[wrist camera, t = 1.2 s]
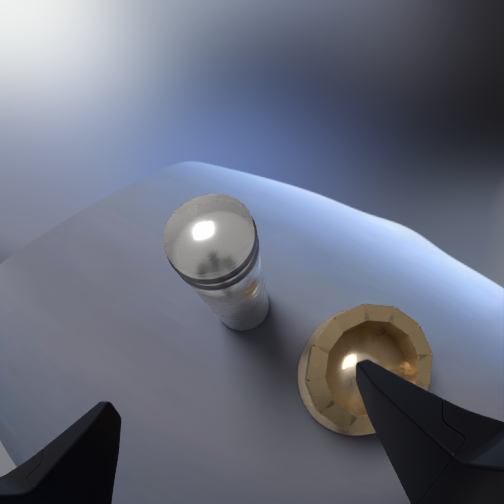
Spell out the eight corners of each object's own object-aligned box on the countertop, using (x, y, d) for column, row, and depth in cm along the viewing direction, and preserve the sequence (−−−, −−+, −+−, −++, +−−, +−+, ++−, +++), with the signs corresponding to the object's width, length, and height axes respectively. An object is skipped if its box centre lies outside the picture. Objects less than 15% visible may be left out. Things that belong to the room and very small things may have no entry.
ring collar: (432, 395, 18) (454, 393, 14) (322, 453, 17) (329, 465, 14) (388, 292, 23) (402, 276, 19) (278, 339, 22) (277, 330, 19)
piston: (278, 320, 23) (270, 255, 12) (225, 339, 22) (170, 290, 12) (259, 273, 25) (238, 180, 14) (210, 290, 25) (155, 211, 14)
